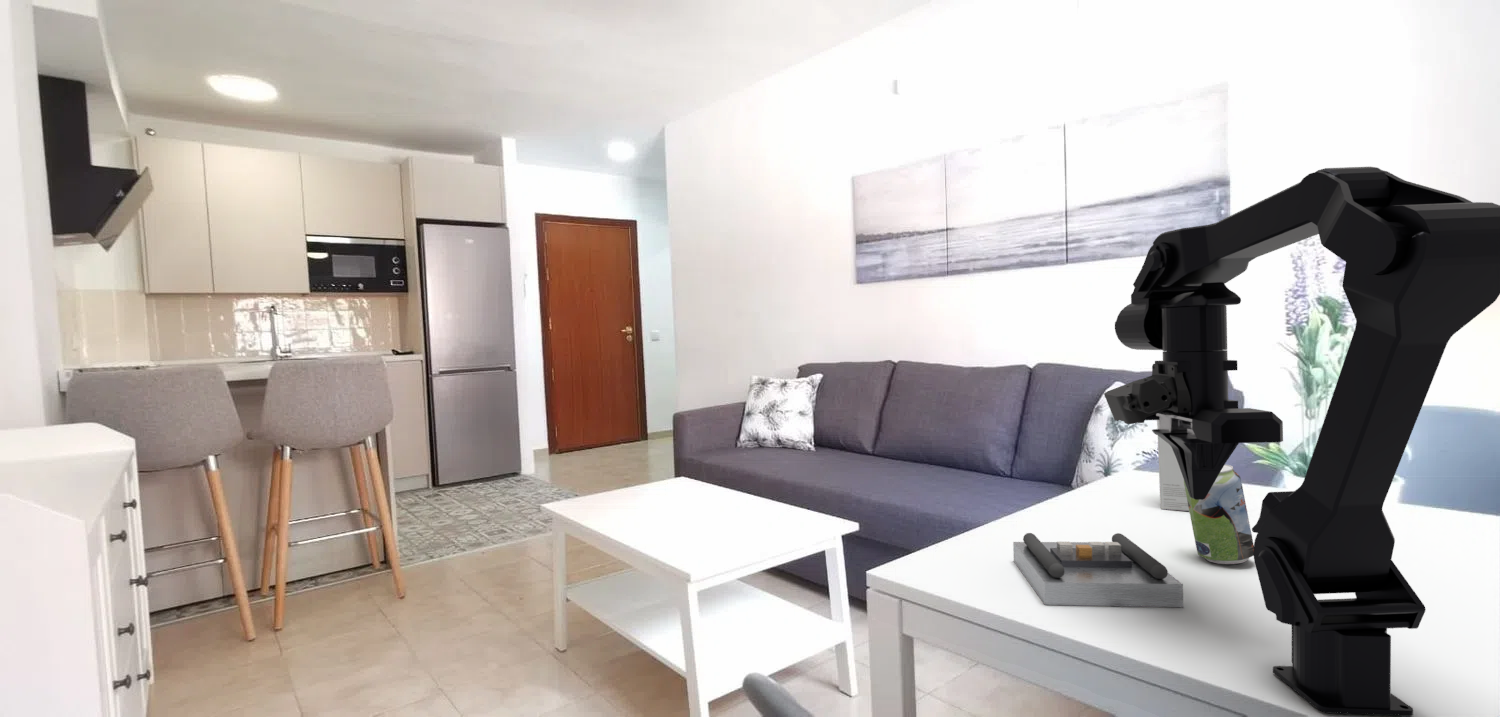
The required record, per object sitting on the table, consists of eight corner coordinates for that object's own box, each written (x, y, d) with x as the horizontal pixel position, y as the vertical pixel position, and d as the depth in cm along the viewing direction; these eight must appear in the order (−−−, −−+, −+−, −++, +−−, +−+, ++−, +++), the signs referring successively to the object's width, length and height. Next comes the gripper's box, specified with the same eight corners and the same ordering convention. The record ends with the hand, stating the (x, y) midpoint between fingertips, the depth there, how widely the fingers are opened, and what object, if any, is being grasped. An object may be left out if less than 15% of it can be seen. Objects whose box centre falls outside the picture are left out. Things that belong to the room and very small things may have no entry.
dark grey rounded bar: (1066, 580, 75) (1066, 565, 75) (1051, 580, 75) (1051, 565, 75) (1035, 543, 88) (1034, 531, 88) (1021, 543, 88) (1021, 531, 88)
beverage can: (1265, 570, 83) (1264, 471, 82) (1197, 568, 84) (1196, 470, 83) (1239, 552, 89) (1238, 460, 88) (1176, 551, 90) (1175, 460, 90)
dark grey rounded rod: (1170, 581, 74) (1170, 567, 74) (1154, 581, 74) (1154, 566, 74) (1123, 544, 86) (1123, 531, 86) (1109, 544, 86) (1109, 531, 86)
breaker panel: (1183, 607, 73) (1182, 565, 73) (1045, 604, 75) (1044, 564, 75) (1128, 562, 87) (1128, 526, 87) (1013, 560, 89) (1012, 526, 89)
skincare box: (1219, 505, 111) (1218, 409, 110) (1221, 515, 105) (1220, 414, 104) (1158, 500, 115) (1157, 407, 114) (1157, 509, 109) (1156, 412, 109)
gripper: (1080, 352, 82) (1084, 481, 83) (1155, 355, 64) (1159, 523, 64) (1179, 348, 81) (1182, 480, 81) (1285, 351, 62) (1288, 522, 63)
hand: (1197, 498), depth 72 cm, fingers closed
